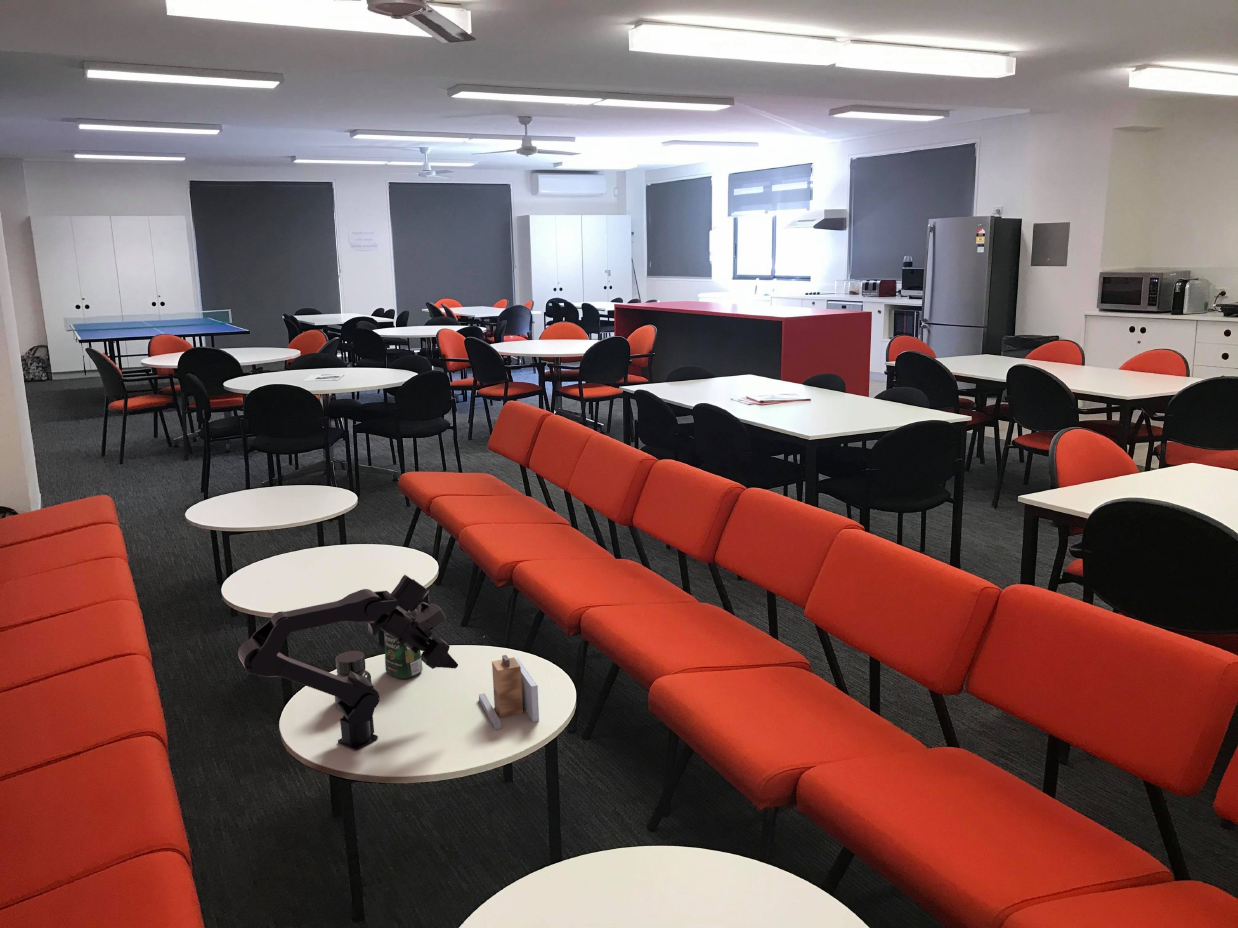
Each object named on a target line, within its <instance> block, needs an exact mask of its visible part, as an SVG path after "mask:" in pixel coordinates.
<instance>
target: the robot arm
mask: <svg viewBox="0 0 1238 928" xmlns="http://www.w3.org/2000/svg"><path fill="white" fill-rule="evenodd" d="M429 592H430V590H428V588H426V587H425V586H423V585H422V584H421V583H419V582H418V581H416V579H414V578H411V577H409V576H408V575H407V574H403V576H401V579H400V581H399V582H398V584H397V585H396V586H395V588H394V589H393V590H392V591H391V593H390V592H389V591H388V590H378V591H377V590H376V591H373V590H371V589H369V588H362V589H360V590H356V591H355V592H351V593H349V594H347V595H346V596H345V597H343V598H342V599H339V600H334V601H331V602H326V603H325V602H324V603H321V604H316V605H311V606H307V607H302V608H297V609H296V608H295V609H291V610H287V611H277V612H275V613H274V614H273V615H272V616H270V618H269V620H268V621H267V622H265V623H264V624H263V625H262V626H261V627H259V628H258V629H257V630H255V632H254V633H253V634H252V635H251V637H250V638H248V639H247V640H245V641H244V642H242V644H241V645H240V646H239V648H238V651H237V655H238V658H239V660H240V662H241V663H242V665H243V667H244V669H245V670H246V672H247V673H249V674H251V675H254V676H260V677H265V678H274V677H280V678H283V679H286V680H287V681H288V680H289V681H291V682H294V683H297V684H299V685H303V686H306V687H308V688H311V689H314V690H316V691H318V692H319V691H320V692H322V693H325V694H328V695H330V696H333V697H335V696H336V697H338V698H339V699H340V700H339V702H338V703H337V705H336V706H337V708H338V710H339V712H340V713H341V714H342V715H343V716H342V717H341V718H340V719H339V722H340V731H341V732H340V734H341V738H339V739H337V743H338V744H340V745H343V746H345V747H348V748H349V749H352V750H354V751H357V750H360V749H361V748H363V747H365V746H367V745H368V744H370V743H373V742H374V741H376V740H378V739H379V737H378V735H376V734H375V727H374V726H375V725H374V724H375V723H374V717H373V716H374V713H375V709H376V708H377V707H378V704H379V702H380V694H379V692H378V691H377V690H376V688H375V686H374V684H373V683H371V682H372V681H371V682H370V681H369V680H368V679H367V678H366V677H365V676H360V675H357V674H355V673H354V672H352V671H350V673H349V676H348V677H340V676H337V674H334V673H331V672H328V671H327V670H323V669H320V668H318V667H316V666H312V665H310V664H307V663H304V662H301V661H299V660H297V659H294V658H291V657H288V656H286V655H284V654H283V653H282V652H280V651H281V650H282V648H283V645H284V644H285V641H286V640H287V638H288V637H289V635H290V634H291V633H293V632H299V631H303V630H308V629H314V628H317V627H318V628H319V627H323V626H326V625H330V624H336V623H340V622H354V623H366V622H367V624H368V625H367V630H368V632H369V633H370V634H371V635H372V636H376V635H377V634H378V632H379V631H380V630H381V631H383V633H384V632H386V633H387V634H389V635H390V636H392V637H393V638H395V639H396V640H397V641H398V642H399V643H401V644H402V645H403V644H404V645H405V646H407V647H408V648H410V649H411V650H412V651H413V652H414V653H417V652H418V651H419V650H420V652H422V653H421V660H422V663H424V664H425V665H426V666H428V667H429V668H430V669H432V670H434V669H436V668H443V669H444V668H445V669H457V668H458V667H459V664H458V662H457V661H456V660H455V659H454V658H453V657H452V656H451V654H450V653H449V650H450V647H451V646H450V645H449V644H448V643H447V642H446V641H445V640H443V639H442V638H441V637H439V636H438V637H433V638H432V637H431V636H432V635H433V634H434V632H433V631H432V630H434V629H435V628H436V627H438V626H439V625H440V624H443V623H445V622H446V620H447V617H446V615H445V613H444V612H443V610H442V608H441V606H439V605H438V604H436V603H432V602H431V603H430V604H428V603H427V602H424V601H423V600H424V599H425V597H426V596H427V594H428V593H429ZM397 606H399V607H401V608H402V609H403V610H405V611H406V612H408V611H411V612H412V611H413V610H415V609H417V611H418V613H417V614H418V615H417V616H416V617H415V618H413V617H412V616H407V615H406V614H404V613H403V612H401V611H400V610H398V609H397V608H396V607H397Z"/></svg>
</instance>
